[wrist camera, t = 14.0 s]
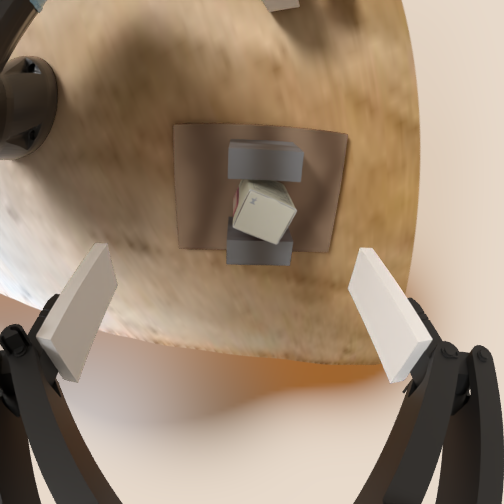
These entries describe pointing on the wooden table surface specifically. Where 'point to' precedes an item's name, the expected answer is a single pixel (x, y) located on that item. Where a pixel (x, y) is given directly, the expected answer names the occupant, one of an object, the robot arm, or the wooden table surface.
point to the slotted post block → (255, 168)
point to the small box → (262, 209)
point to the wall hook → (280, 4)
